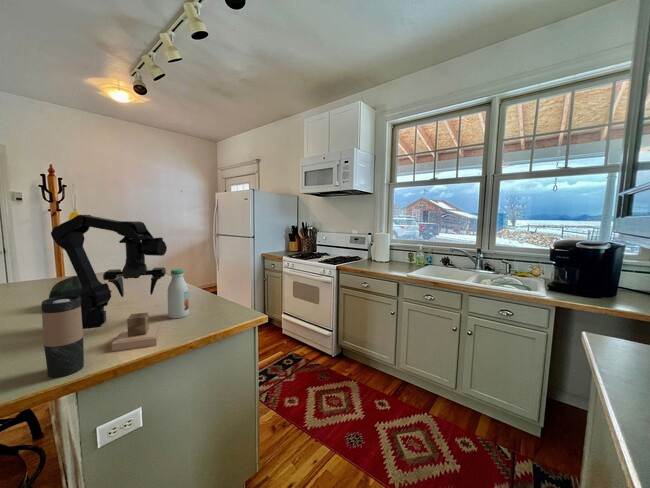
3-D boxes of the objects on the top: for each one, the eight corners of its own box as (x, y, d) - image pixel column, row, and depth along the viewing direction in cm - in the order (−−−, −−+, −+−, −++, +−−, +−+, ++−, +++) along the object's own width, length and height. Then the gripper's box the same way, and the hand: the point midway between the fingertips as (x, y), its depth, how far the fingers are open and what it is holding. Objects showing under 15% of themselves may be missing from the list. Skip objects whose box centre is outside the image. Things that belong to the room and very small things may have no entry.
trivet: (111, 351, 84) (111, 343, 84) (123, 335, 95) (122, 328, 95) (156, 345, 89) (156, 337, 89) (162, 330, 100) (162, 323, 100)
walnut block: (127, 336, 89) (127, 319, 88) (131, 330, 93) (131, 314, 93) (145, 334, 91) (145, 317, 90) (148, 328, 95) (148, 312, 95)
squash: (51, 292, 125) (48, 272, 117) (93, 288, 135) (94, 269, 127) (49, 319, 118) (46, 299, 110) (94, 313, 128) (94, 294, 120)
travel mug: (92, 362, 78) (88, 295, 76) (68, 378, 70) (62, 304, 68) (65, 362, 78) (60, 295, 76) (37, 378, 70) (31, 303, 68)
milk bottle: (179, 319, 111) (178, 272, 109) (163, 318, 112) (162, 270, 110) (192, 313, 118) (191, 268, 116) (177, 311, 120) (176, 267, 118)
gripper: (96, 259, 90) (98, 304, 92) (160, 257, 97) (162, 299, 99) (107, 254, 100) (109, 295, 102) (165, 253, 108) (166, 291, 109)
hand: (137, 295), depth 103 cm, fingers open, 9 cm apart
